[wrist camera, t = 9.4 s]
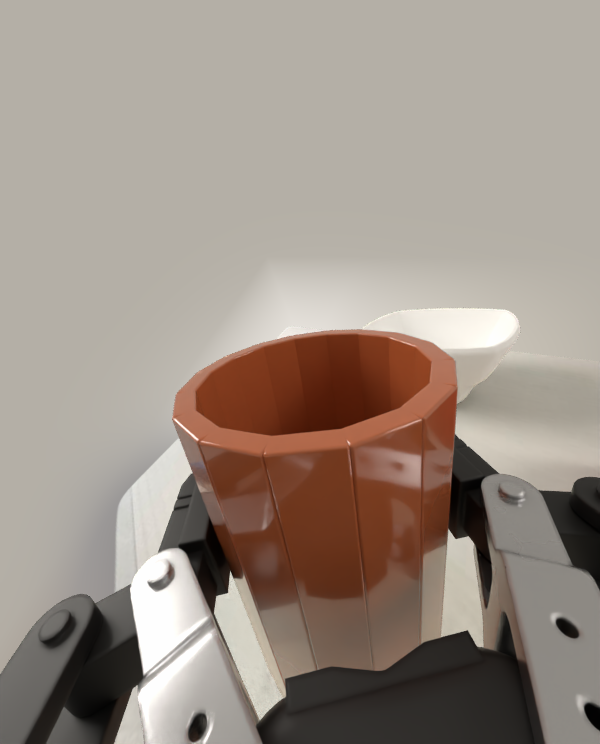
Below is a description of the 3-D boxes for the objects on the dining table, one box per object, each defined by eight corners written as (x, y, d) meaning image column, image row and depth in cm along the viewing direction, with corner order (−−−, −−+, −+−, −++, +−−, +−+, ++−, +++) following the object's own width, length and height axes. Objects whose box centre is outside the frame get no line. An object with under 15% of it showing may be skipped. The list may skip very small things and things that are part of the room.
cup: (367, 839, 7) (300, 538, 3) (235, 620, 12) (138, 388, 8) (468, 612, 11) (503, 341, 7) (338, 516, 16) (310, 323, 11)
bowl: (503, 444, 34) (516, 355, 30) (342, 408, 47) (335, 343, 43) (514, 372, 49) (524, 306, 45) (391, 360, 63) (389, 308, 58)
